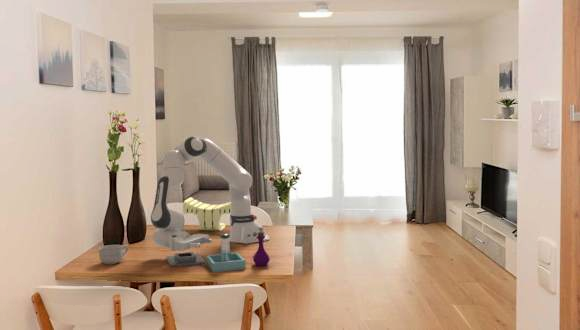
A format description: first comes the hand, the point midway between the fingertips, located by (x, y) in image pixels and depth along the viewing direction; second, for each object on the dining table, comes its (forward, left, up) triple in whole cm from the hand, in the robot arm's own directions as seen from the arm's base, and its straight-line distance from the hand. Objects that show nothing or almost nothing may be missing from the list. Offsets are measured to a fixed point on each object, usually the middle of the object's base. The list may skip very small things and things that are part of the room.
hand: (205, 243), depth 277 cm
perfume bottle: (-24, +13, -10) cm, 28 cm away
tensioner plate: (+8, -7, -9) cm, 15 cm away
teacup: (+40, -17, -10) cm, 45 cm away
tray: (-8, +9, -9) cm, 15 cm away
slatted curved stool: (-19, -74, -10) cm, 77 cm away
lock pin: (-8, +9, -8) cm, 14 cm away
